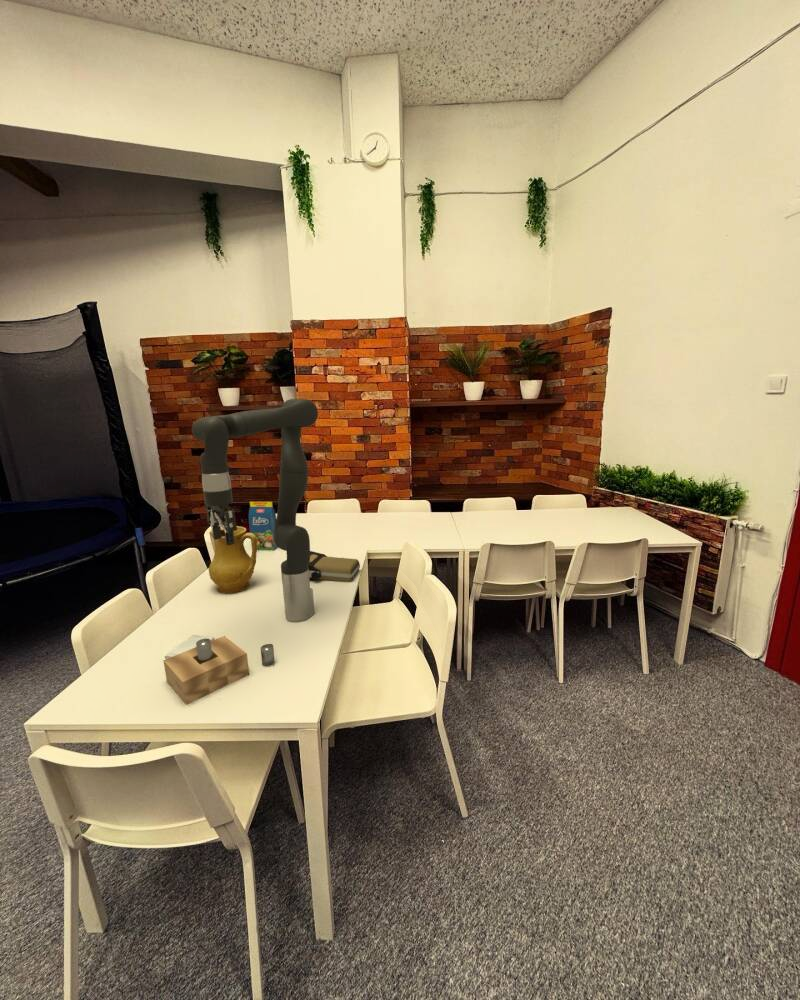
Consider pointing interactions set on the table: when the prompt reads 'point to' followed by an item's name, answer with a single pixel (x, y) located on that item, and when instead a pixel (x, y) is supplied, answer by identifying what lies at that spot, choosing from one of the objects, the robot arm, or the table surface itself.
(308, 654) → the table surface
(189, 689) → the guide block
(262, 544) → the blue food package
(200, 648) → the long pin
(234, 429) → the robot arm
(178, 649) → the hard drive
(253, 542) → the pitcher
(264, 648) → the short pin
